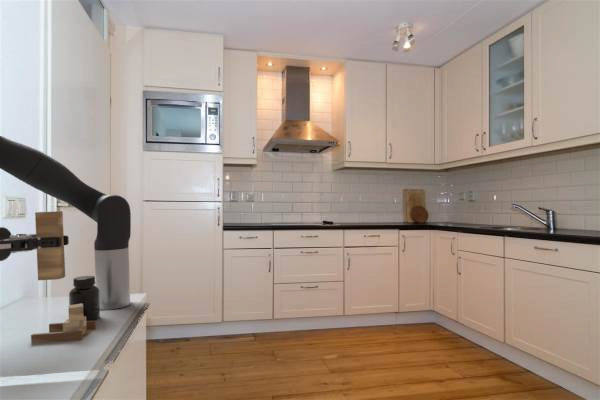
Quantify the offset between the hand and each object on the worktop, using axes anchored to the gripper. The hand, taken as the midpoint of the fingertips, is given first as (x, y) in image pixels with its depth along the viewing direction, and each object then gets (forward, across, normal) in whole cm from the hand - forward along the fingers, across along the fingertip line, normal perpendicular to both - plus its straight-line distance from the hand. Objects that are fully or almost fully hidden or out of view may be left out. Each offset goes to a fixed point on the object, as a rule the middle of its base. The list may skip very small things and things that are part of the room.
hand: (64, 240), depth 86 cm
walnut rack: (-1, 0, +22) cm, 22 cm away
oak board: (-3, 0, +8) cm, 9 cm away
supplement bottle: (-1, +12, +23) cm, 26 cm away
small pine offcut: (+2, 0, +18) cm, 18 cm away
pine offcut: (+2, -1, +21) cm, 21 cm away
